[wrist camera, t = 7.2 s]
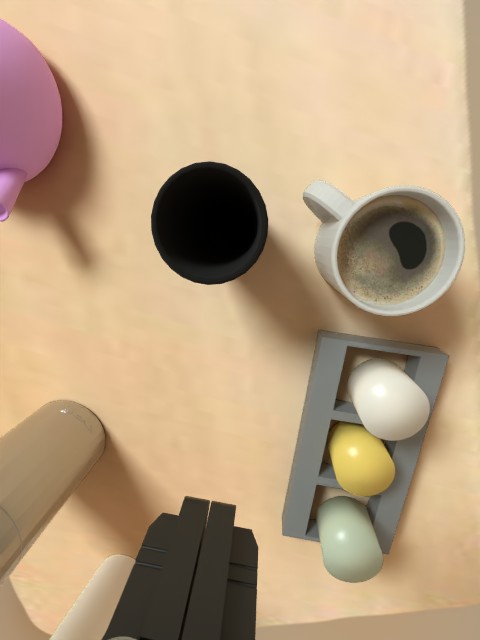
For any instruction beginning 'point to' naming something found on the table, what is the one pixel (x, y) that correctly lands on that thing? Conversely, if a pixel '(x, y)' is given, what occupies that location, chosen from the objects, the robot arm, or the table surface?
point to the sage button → (348, 540)
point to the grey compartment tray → (322, 407)
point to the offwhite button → (387, 400)
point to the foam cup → (96, 601)
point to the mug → (387, 246)
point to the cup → (209, 223)
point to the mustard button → (359, 459)
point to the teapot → (24, 115)
